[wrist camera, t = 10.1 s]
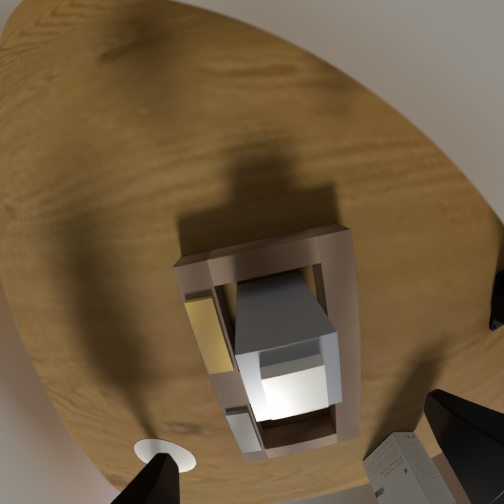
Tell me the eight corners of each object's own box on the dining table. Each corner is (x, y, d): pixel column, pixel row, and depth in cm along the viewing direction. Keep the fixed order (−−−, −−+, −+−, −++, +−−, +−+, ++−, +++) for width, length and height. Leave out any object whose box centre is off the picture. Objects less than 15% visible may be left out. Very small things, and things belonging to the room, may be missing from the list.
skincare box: (391, 431, 22) (434, 511, 11) (416, 430, 23) (459, 501, 11) (359, 463, 24) (389, 540, 12) (385, 462, 24) (417, 530, 12)
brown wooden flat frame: (336, 223, 17) (353, 230, 14) (350, 417, 21) (360, 439, 19) (181, 256, 17) (170, 270, 15) (244, 441, 21) (245, 464, 19)
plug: (298, 271, 18) (343, 342, 9) (307, 324, 19) (346, 412, 10) (237, 285, 18) (234, 367, 9) (250, 337, 19) (257, 433, 10)
